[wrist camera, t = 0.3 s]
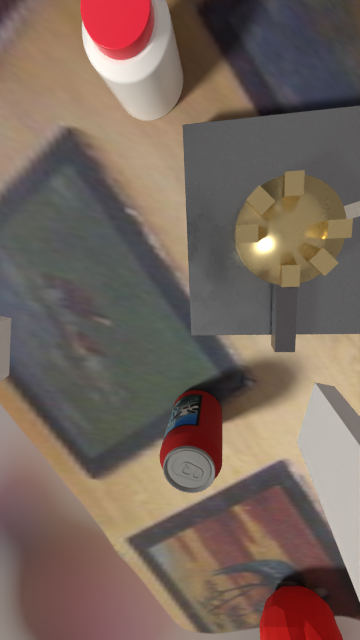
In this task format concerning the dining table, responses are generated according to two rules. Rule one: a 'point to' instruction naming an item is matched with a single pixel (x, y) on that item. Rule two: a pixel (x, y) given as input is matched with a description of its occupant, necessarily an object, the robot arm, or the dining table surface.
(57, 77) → the dining table surface
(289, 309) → the studded gold disc
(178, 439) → the beverage can
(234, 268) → the housing
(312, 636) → the tomato
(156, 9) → the pill bottle
